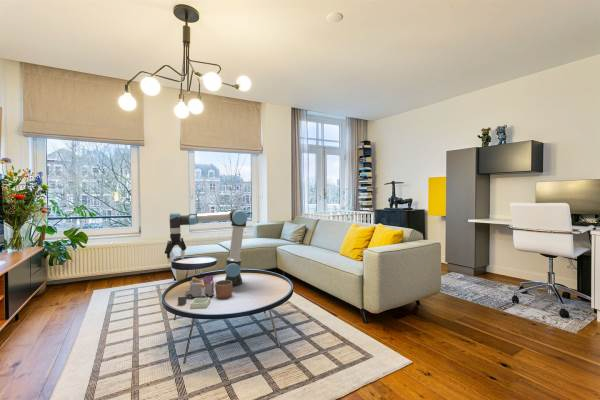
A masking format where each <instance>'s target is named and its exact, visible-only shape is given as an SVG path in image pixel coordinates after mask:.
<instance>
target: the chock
mask: <svg viewBox="0 0 600 400" xmlns="http://www.w3.org/2000/svg"><path fill="white" fill-rule="evenodd" d="M186 304H187V297H186V295H185V294H180V295H179V296H178V297H177V305H178V306H185V305H186Z"/></svg>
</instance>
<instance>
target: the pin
mask: <svg viewBox="0 0 600 400" xmlns="http://www.w3.org/2000/svg"><path fill="white" fill-rule="evenodd" d="M200 298H206V284H205V283H203V284H201V296H200Z"/></svg>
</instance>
